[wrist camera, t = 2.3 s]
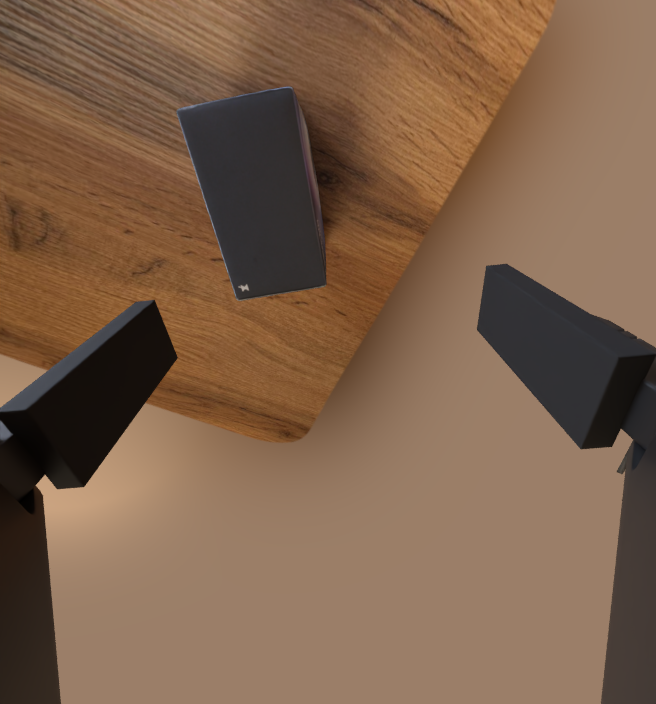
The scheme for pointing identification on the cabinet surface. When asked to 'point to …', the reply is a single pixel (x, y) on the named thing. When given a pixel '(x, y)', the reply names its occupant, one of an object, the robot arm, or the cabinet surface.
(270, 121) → the small box
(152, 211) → the cabinet surface
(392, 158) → the cabinet surface
